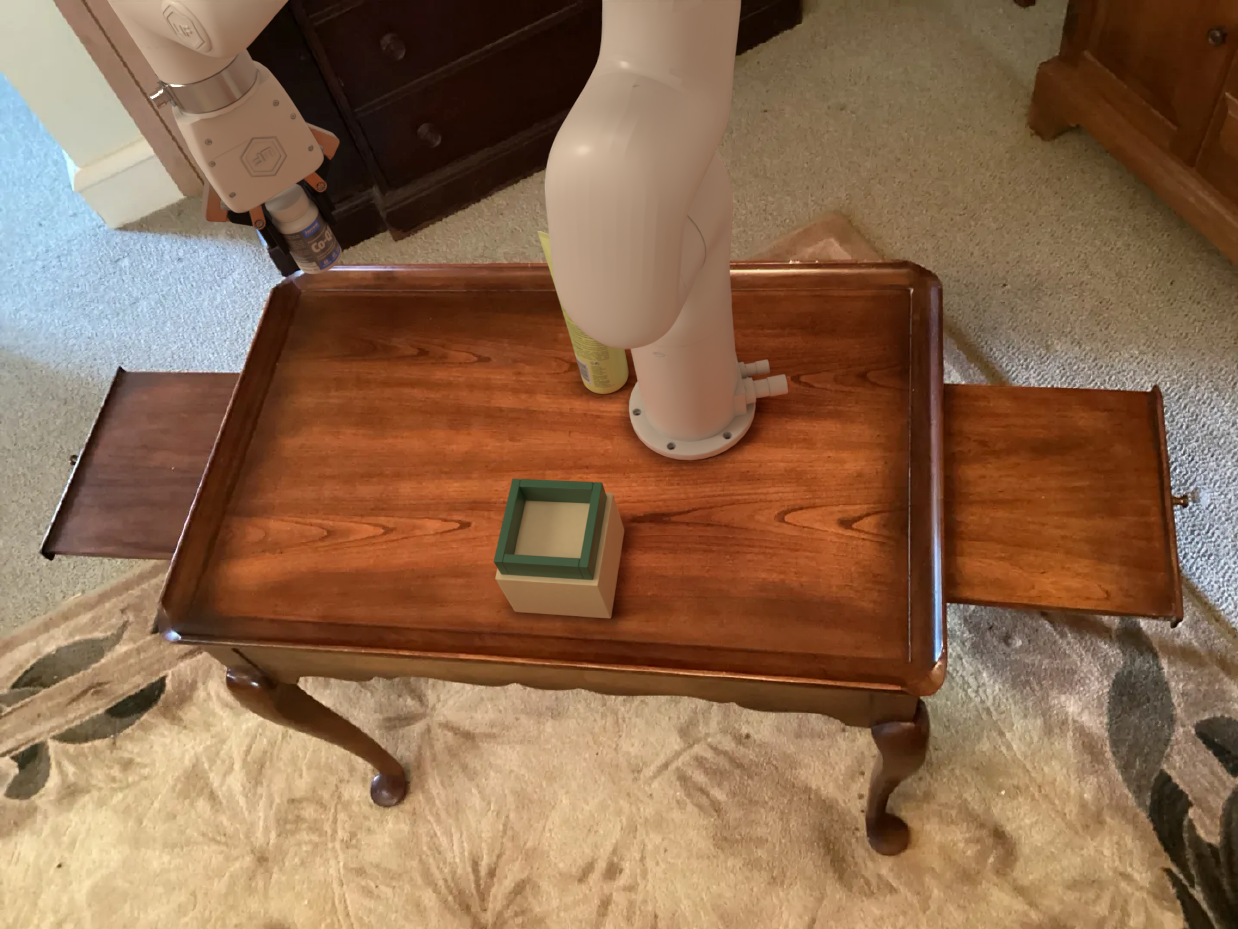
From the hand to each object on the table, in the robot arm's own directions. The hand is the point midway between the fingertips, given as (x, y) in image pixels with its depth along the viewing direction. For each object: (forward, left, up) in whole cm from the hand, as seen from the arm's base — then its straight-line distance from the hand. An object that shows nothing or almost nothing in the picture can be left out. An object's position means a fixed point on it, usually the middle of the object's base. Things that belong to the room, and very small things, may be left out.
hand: (304, 231), depth 97 cm
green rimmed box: (-21, +35, -15) cm, 44 cm away
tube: (-27, +13, -15) cm, 34 cm away
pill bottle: (0, 0, -4) cm, 4 cm away
